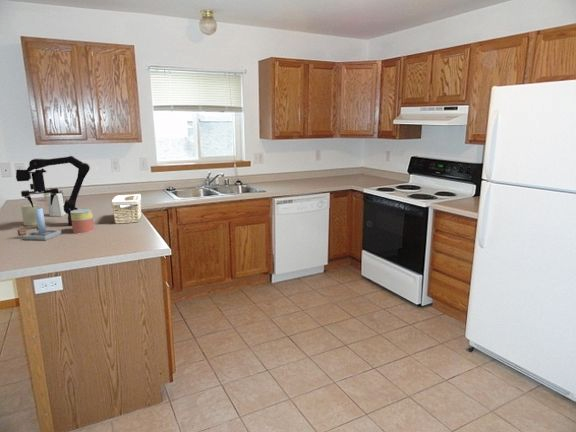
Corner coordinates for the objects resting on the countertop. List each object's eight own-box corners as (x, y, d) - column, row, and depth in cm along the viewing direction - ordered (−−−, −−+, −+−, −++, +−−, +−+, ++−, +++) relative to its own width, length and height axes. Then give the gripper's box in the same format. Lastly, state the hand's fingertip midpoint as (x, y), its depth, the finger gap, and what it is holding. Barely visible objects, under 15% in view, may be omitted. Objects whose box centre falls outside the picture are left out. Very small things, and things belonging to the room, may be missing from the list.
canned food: (98, 229, 235) (96, 209, 232) (82, 234, 225) (79, 213, 222) (85, 227, 239) (82, 208, 237) (68, 232, 229) (65, 212, 227)
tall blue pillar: (33, 236, 218) (29, 209, 215) (40, 234, 223) (36, 207, 220) (45, 236, 217) (41, 210, 214) (51, 234, 222) (48, 208, 219)
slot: (19, 230, 235) (19, 228, 235) (44, 226, 242) (43, 225, 241) (20, 235, 223) (19, 233, 223) (45, 232, 230) (45, 230, 230)
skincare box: (66, 214, 274) (63, 193, 270) (61, 216, 268) (58, 194, 264) (53, 214, 274) (50, 193, 270) (48, 216, 268) (45, 194, 264)
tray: (61, 233, 226) (61, 230, 225) (45, 240, 213) (45, 236, 213) (40, 233, 227) (40, 229, 227) (23, 240, 215) (22, 235, 214)
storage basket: (118, 216, 268) (115, 194, 264) (143, 214, 272) (141, 193, 269) (113, 224, 246) (110, 201, 242) (140, 223, 250) (138, 199, 246)
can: (37, 221, 256) (34, 202, 253) (43, 223, 250) (40, 204, 247) (21, 223, 249) (18, 205, 246) (26, 226, 243) (23, 207, 241)
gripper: (55, 177, 245) (58, 202, 249) (18, 180, 235) (23, 206, 238) (56, 179, 236) (60, 205, 240) (19, 182, 226) (23, 209, 230)
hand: (42, 206), depth 237 cm, fingers open, 9 cm apart
